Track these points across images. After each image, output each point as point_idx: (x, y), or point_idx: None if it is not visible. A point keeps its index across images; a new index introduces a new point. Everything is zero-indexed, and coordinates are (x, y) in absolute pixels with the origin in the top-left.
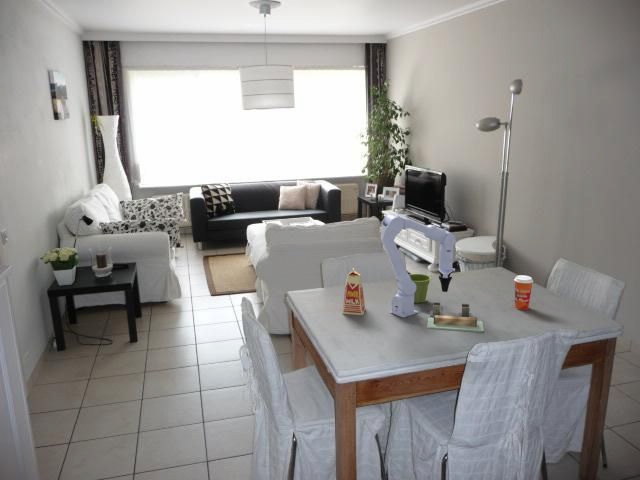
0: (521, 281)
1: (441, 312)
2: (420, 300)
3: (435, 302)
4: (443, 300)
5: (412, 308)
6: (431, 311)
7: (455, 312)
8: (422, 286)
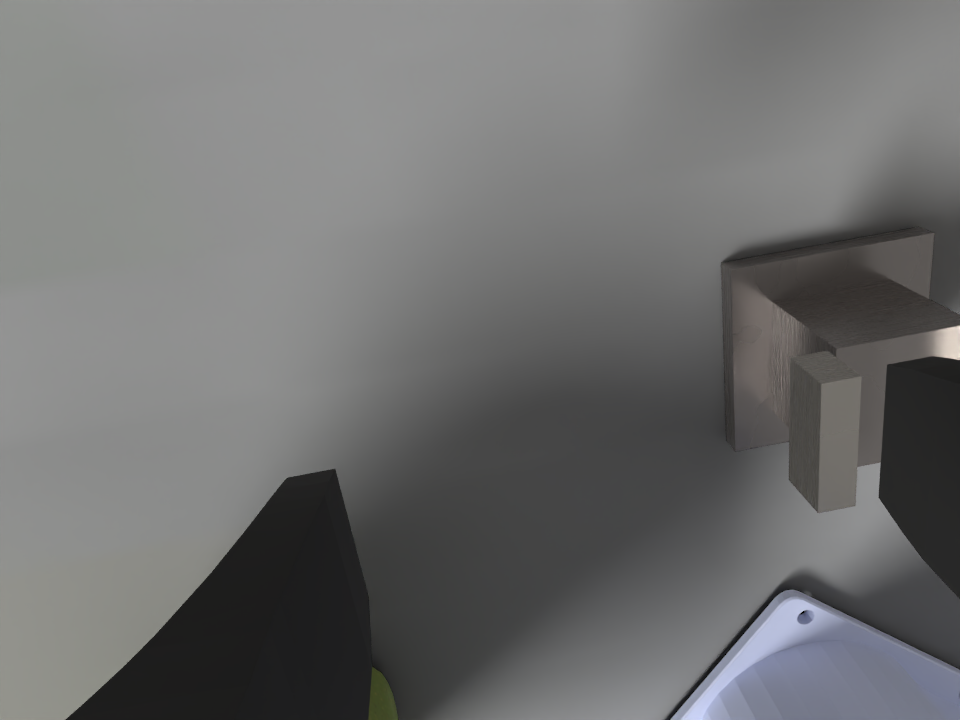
0: None
1: (775, 276)
2: (378, 689)
3: (854, 467)
4: (51, 366)
5: (907, 698)
6: (757, 434)
7: (636, 28)
8: None
